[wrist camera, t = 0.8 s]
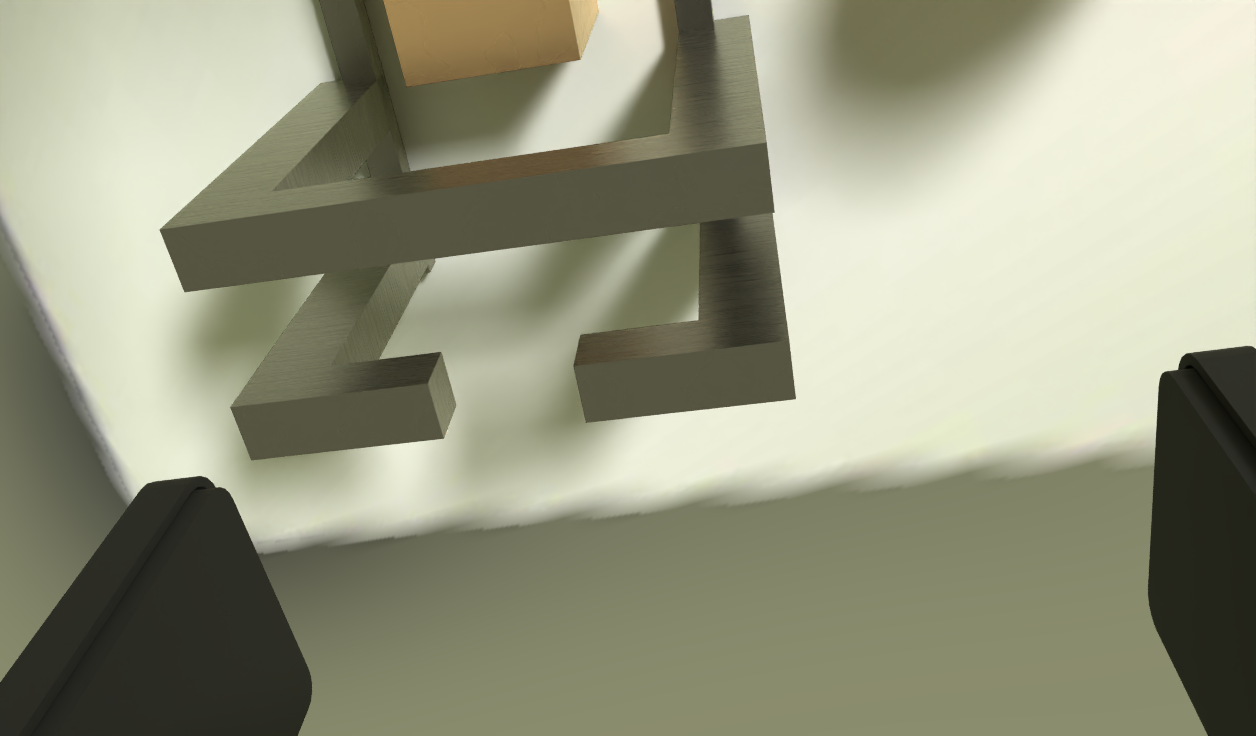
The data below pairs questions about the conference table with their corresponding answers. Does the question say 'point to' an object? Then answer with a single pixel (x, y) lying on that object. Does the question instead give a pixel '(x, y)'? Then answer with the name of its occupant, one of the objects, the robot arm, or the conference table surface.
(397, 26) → the long brass-colored rectangular prism
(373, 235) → the gray arch posts
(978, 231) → the conference table surface
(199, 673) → the robot arm
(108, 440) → the conference table surface
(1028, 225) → the conference table surface
